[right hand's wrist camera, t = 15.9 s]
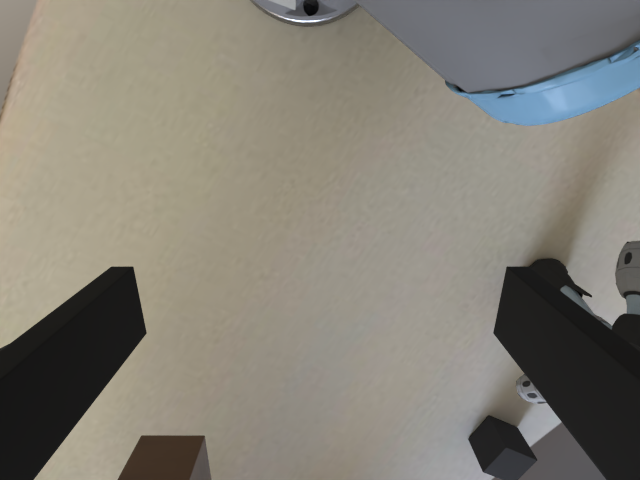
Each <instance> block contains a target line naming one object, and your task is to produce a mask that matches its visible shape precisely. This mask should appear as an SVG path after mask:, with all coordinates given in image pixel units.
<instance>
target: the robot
mask: <svg viewBox="0 0 640 480" xmlns="http://www.w3.org/2000/svg"><path fill="white" fill-rule="evenodd" d="M530 268H531V269H532V270H533V271H535V272H536V273H537V274H539V275H540V276H541V277H543V278H544V279H545V280H547V281H548V282H549V283H551V284H552V285H553V286H555V287H556V288H557V289H558V290H560V291H561V292H562V293H564V294H565V295H566V296H568V297H569V298H570V299H572V300H573V301H574V302H576V303H577V304H578V305H580V306H581V307H582V308H584V309H585V310H586V311H587V312H589V313H590V314H591V315H593V316H594V317H595V318H597V319H598V320H599V321H601V322H602V323H603V324H605V325H606V326H607V327H609V328H610V329H611V330H612V331H614V332H615V333H616V334H618V335H619V336H620V337H622V338H623V339H624V340H626V341H627V342H628V343H633V344H635V345H637V346H639V347H640V241H631V242H627V243H626V244H625V245H624V247H623V248H622V250H621V252H620V254H619V258H618V262H617V266H616V273H615V274H616V275H615V276H616V285H617V288H618V290H619V293H620V294H621V296H622V297H623V298H625V299H626V302H627V314H623V315H621V316H619V317H618V319H617V320H616V321H615V323H614V324H613V326H611V325H610V324H609V323H608V322H606V321H605V320H604V319H602V318H601V317H599V316H596V315H595V314H594V313H593V312H592V311H591V309H590V308H589V307H588V305H587V304H586V303H585V301H584V300H583V299H582V296H583V294H584V295H586V296H589V297H592V295H590V294H589V293H587V292H586V291H584V290H583V289H581V288H580V287H579V286H577V285H576V284H575V283H574V282H573V280H572V279H571V277H570V276H569V275H568V271H567V269H566V266H564V265H563V264H562V263H561V262H560V261H558V260H555V259H541V260H537V261H536V262H535V263H534V264H532V265H531V266H530ZM516 388H517V391H518V395H519V396H520V397H521V398H522V399H524V400H526V401H528V402H532V403H547V402H546V401H545V399H544V398H543V397H542V395H541V394H540V393H539V392H538V390H537V389H536V388H535V386H534V385H533V384H532V383H531V381H530V380H529V379H528V377H527V376H526V375H525V374H524V375H522V376H521V377H520V378H519V379H518V380H517V381H516Z"/></svg>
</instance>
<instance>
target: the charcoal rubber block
mask: <svg viewBox="0 0 640 480" xmlns="http://www.w3.org/2000/svg"><path fill="white" fill-rule="evenodd" d="M468 440H469V442H470V444H471V446H472V449H473V451H474V453H475V455H476V458H477V460H478V462H479V464H480V466H481V469H482V471H483V472H484V473H487V474H489V475H492V476H494V477H497V478H499V479H502V480H518V479H519V478H520V477H521V476H522V475H523V474H524V473H525V472H526V471H527V470H528V469H529V468H530V467H531V466H532V465H533V464H534V463H535V462H536V461H537V459H536V457H535V455H534V454H533V452H532V450H531V449H530V447H529V445H528V444H527V442H526V441H525V439H524V437H523V436H522V434H521V433H520V431H519V429H518V428H517V427H515V426H513V425H510V424H508V423H505V422H503V421H501V420H498V419H496V418H494V417H491V416H488V417H487V418H486V419H485V420H484V422H483V423H482V424H481V425H480V426H479V427H478V428H477V430H476V431H475V432H474V433H473V434H472V435H471V436H470V437H469V439H468Z"/></svg>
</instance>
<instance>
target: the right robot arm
mask: <svg viewBox="0 0 640 480" xmlns="http://www.w3.org/2000/svg"><path fill="white" fill-rule="evenodd" d="M250 1H251V2H252V3H253V4H255V5H256V6H257V7H258V8H259V9H261V10H262V11H263V12H265V13H266V14H268V15H269V16H271V17H273V18H275V19H277V20H279V21H282V22H285V23H288V24H292V25H297V26H319V25H324V24H328V23H331V22H334V21H337V20H339V19H341V18H343V17H345V16H346V15H348V14H350V13H351V12H352V11H354V10H355V9H356V8H358V7H359V6H361V7H362V8H363V9H365V10H366V11H367V12H368V13H369V14H370V15H371V16H373V17H374V18H375V19H376V20H377V21H378V22H379V23H381V24H382V25H383V26H384V27H385V28H386V29H387V30H389V31H390V32H391V33H392V34H393V35H394V36H395V37H397V38H398V39H399V40H400V41H401V42H402V43H403V44H405V45H406V46H407V47H408V48H409V49H410V50H411V51H413V52H414V53H415V54H416V55H417V56H418V57H419V58H421V59H422V60H423V61H424V62H425V63H426V64H428V65H429V66H430V67H431V68H432V69H433V70H434V71H436V72H437V73H438V74H439V75H440V76H441V77H442V78H444V79H445V83H446V85H447V86H448V87H449V88H450V89H451V90H452V91H453V92H455V93H456V94H458V95H461V96H464V97H467V98H468V99H470V100H471V101H472V102H473V103H475V104H476V105H477V106H478V107H480V108H481V109H482V110H484V111H485V112H486V113H487V114H489V115H490V116H491V117H493V118H495V119H497V120H499V121H501V122H504V123H514V124H517V125H524V126H531V125H541V124H548V123H553V122H557V121H561V120H565V119H568V118H572V117H575V116H578V115H581V114H584V113H586V112H589V111H591V110H594V109H596V108H599V107H601V106H603V105H606V104H608V103H610V102H612V101H614V100H616V99H618V98H621V97H623V96H624V95H626V94H628V93H630V92H632V91H634V90H636V89H638V88H639V87H640V0H250ZM145 335H146V328H145V323H144V318H143V313H142V308H141V303H140V298H139V293H138V288H137V283H136V278H135V273H134V268H133V267H110V268H109V269H108V270H107V271H105V272H104V273H103V274H101V275H100V276H99V277H97V278H96V279H95V280H93V281H92V282H91V283H89V284H88V285H87V286H85V287H84V288H83V289H82V290H80V291H79V292H78V293H76V294H75V295H74V296H72V297H71V298H70V299H68V300H67V301H66V302H64V303H63V304H62V305H60V306H59V307H58V308H56V309H55V310H54V311H53V312H51V313H50V314H49V315H47V316H46V317H45V318H43V319H42V320H41V321H39V322H38V323H37V324H35V325H34V326H33V327H31V328H30V329H29V330H28V331H26V332H25V333H24V334H22V335H21V336H20V337H18V338H17V339H16V340H14V341H13V342H12V343H10V344H8V345H6V346H4V347H2V348H0V480H34V478H35V477H36V476H37V475H38V473H39V472H40V471H41V469H42V468H43V467H44V465H45V464H46V463H47V462H48V460H49V459H50V458H51V456H52V455H53V454H54V452H55V451H56V450H57V449H58V447H59V446H60V445H61V443H62V442H63V441H64V440H65V438H66V437H67V436H68V434H69V433H70V432H71V430H72V429H73V428H74V427H75V425H76V424H77V423H78V421H79V420H80V419H81V417H82V416H83V415H84V414H85V412H86V411H87V410H88V408H89V407H90V406H91V405H92V403H93V402H94V401H95V399H96V398H97V397H98V395H99V394H100V393H101V392H102V390H103V389H104V388H105V386H106V385H107V384H108V383H109V381H110V380H111V379H112V377H113V376H114V375H115V373H116V372H117V371H118V370H119V368H120V367H121V366H122V364H123V363H124V362H125V360H126V359H127V358H128V357H129V355H130V354H131V353H132V351H133V350H134V349H135V348H136V346H137V345H138V344H139V342H140V341H141V340H142V338H143V337H144V336H145ZM494 335H495V336H496V337H497V338H498V340H499V341H500V342H501V344H502V345H503V346H504V348H505V349H506V350H507V351H508V353H509V354H510V355H511V357H512V358H513V359H514V360H515V362H516V363H517V364H518V366H519V367H520V368H521V370H522V371H523V372H524V373H525V375H526V376H527V377H528V379H529V380H530V381H531V383H532V384H533V385H534V386H535V388H536V389H537V390H538V392H539V393H540V394H541V395H542V397H543V398H544V399H545V401H546V402H547V403H548V405H549V406H550V407H551V408H552V410H553V411H554V412H555V414H556V415H557V416H558V417H559V419H560V420H561V421H562V423H563V424H564V425H565V426H566V428H567V429H568V430H569V432H570V433H571V434H572V436H573V437H574V438H575V439H576V441H577V442H578V443H579V445H580V446H581V447H582V449H583V450H584V451H585V452H586V454H587V455H588V456H589V458H590V459H591V460H592V462H593V463H594V464H595V465H596V467H597V468H598V469H599V471H600V472H601V473H602V475H603V476H604V477H605V478H606V480H640V347H639V346H637V345H635V344H633V343H628V342H627V341H626V340H624V339H623V338H622V337H620V336H619V335H618V334H616V333H615V332H614V331H612V330H611V329H610V328H609V327H607V326H606V325H605V324H603V323H602V322H601V321H599V320H598V319H597V318H595V317H594V316H593V315H591V314H590V313H589V312H587V311H586V310H585V309H584V308H582V307H581V306H580V305H578V304H577V303H576V302H574V301H573V300H572V299H570V298H569V297H568V296H566V295H565V294H564V293H562V292H561V291H560V290H558V289H557V288H556V287H555V286H553V285H552V284H551V283H549V282H548V281H547V280H545V279H544V278H543V277H541V276H540V275H539V274H537V273H536V272H535V271H533V270H532V269H531V268H530V267H507V268H506V273H505V278H504V283H503V288H502V293H501V298H500V303H499V308H498V313H497V318H496V323H495V328H494Z"/></svg>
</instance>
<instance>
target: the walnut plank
mask: <svg viewBox="0 0 640 480" xmlns="http://www.w3.org/2000/svg"><path fill="white" fill-rule="evenodd" d="M118 480H211V474H210V468H209V461H208V455H207V448H206V441H205V436H141V437H140V439H139V441H138V443H137V445H136V447H135V449H134V450H133V452H132V454H131V456H130V458H129V460H128V461H127V463H126V465H125V467H124V469H123V471H122V473H121V474H120V476H119V478H118Z"/></svg>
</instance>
